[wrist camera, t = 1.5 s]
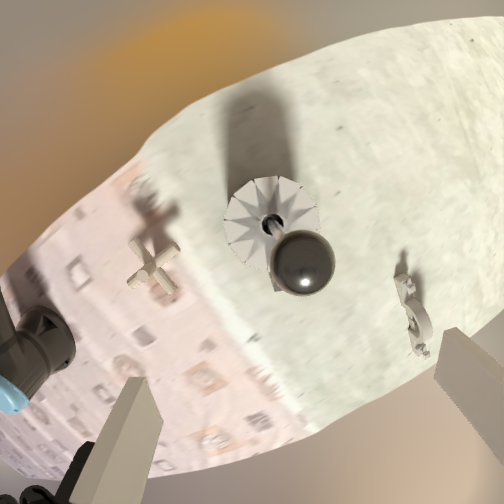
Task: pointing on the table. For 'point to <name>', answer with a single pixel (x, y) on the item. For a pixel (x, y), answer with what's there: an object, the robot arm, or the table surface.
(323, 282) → the plunger
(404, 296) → the gateway
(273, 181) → the wooden mug
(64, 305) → the table surface
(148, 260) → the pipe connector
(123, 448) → the robot arm
